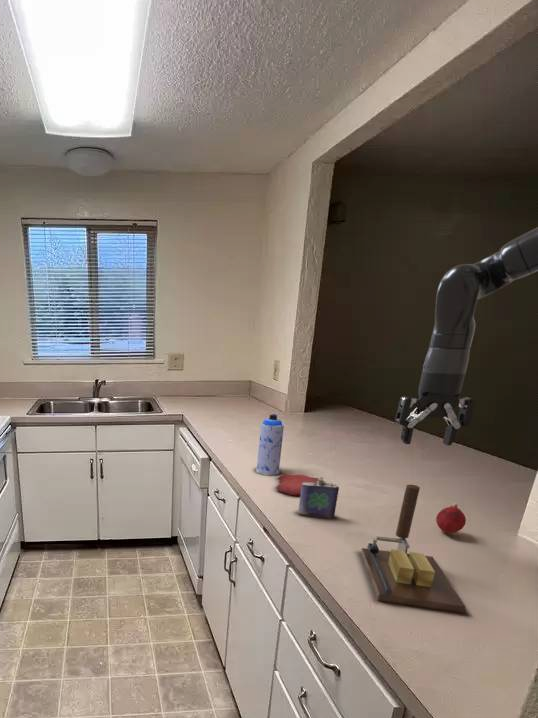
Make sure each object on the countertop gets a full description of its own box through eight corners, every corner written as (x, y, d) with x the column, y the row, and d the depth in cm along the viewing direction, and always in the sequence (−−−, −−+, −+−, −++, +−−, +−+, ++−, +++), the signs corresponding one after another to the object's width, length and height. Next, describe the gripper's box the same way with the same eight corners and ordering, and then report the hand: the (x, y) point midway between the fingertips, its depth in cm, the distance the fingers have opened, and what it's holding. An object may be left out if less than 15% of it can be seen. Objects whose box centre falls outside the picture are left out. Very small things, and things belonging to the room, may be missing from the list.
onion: (463, 541, 103) (472, 510, 101) (435, 536, 106) (443, 506, 103) (458, 530, 108) (466, 501, 105) (431, 526, 111) (438, 497, 108)
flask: (298, 515, 118) (303, 478, 114) (297, 510, 120) (302, 474, 117) (334, 518, 116) (341, 481, 112) (333, 514, 118) (339, 477, 114)
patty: (279, 475, 147) (280, 470, 146) (323, 480, 142) (324, 475, 141) (274, 494, 132) (275, 488, 131) (324, 500, 127) (325, 494, 126)
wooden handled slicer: (402, 550, 96) (418, 485, 91) (410, 564, 91) (426, 495, 85) (365, 546, 98) (378, 481, 93) (370, 559, 93) (384, 491, 87)
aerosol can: (280, 475, 147) (287, 417, 140) (257, 474, 148) (262, 417, 141) (277, 467, 154) (283, 412, 147) (255, 466, 155) (260, 412, 148)
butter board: (431, 562, 95) (436, 542, 93) (463, 613, 79) (470, 590, 77) (360, 553, 99) (364, 534, 97) (377, 600, 83) (382, 578, 81)
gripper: (416, 371, 88) (400, 448, 94) (492, 372, 87) (471, 449, 92) (399, 367, 95) (385, 438, 101) (469, 367, 94) (451, 440, 99)
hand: (426, 443), depth 97 cm, fingers open, 8 cm apart
